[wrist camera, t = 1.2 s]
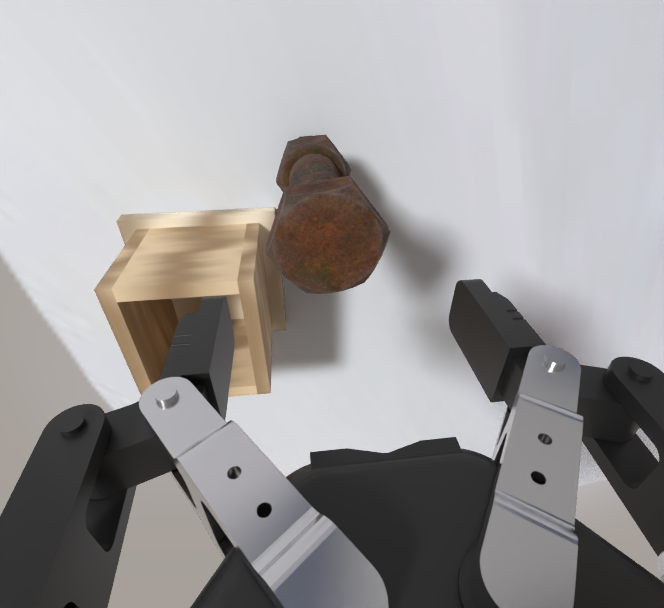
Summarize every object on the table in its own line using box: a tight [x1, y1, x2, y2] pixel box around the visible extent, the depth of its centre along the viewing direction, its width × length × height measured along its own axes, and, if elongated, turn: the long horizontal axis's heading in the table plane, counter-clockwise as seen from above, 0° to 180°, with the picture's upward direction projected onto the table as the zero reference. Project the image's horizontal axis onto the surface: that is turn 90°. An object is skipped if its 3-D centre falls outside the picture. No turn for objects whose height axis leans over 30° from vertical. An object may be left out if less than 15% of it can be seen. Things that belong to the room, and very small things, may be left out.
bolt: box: [266, 135, 390, 294], centre depth 23 cm, size 6×5×15 cm
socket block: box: [94, 208, 286, 397], centre depth 31 cm, size 12×12×10 cm
